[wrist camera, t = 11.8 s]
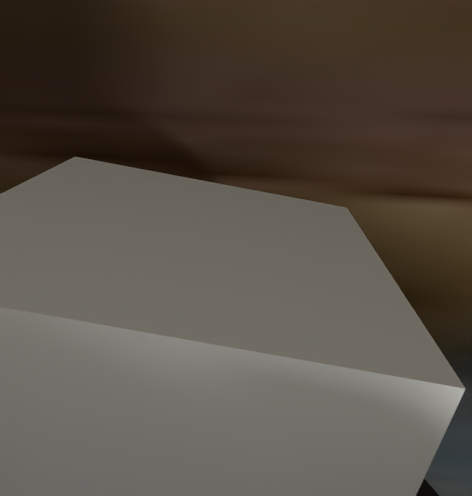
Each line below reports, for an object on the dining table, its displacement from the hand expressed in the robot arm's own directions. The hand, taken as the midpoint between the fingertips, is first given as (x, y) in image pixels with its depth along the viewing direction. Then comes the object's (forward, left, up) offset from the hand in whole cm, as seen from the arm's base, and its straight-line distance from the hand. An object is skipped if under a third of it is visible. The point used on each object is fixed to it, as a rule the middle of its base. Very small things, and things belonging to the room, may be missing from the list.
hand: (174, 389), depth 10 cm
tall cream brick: (0, 0, -2) cm, 2 cm away
